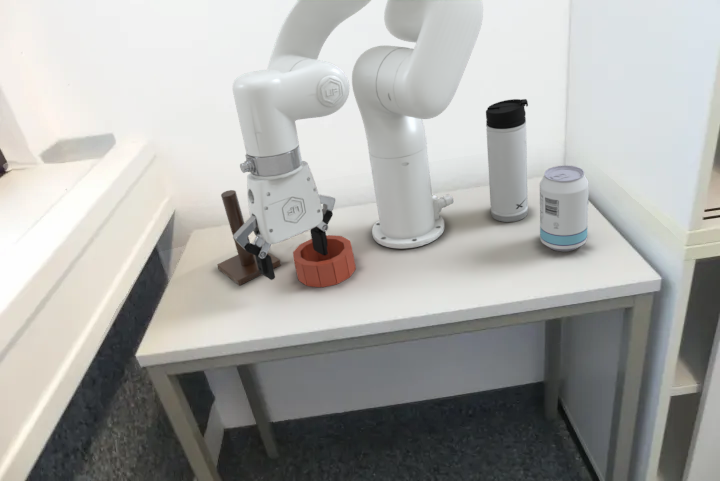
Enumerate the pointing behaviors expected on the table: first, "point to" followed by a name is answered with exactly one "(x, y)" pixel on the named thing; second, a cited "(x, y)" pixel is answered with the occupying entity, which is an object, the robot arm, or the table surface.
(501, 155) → the travel mug
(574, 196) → the beverage can
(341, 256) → the hoop
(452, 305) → the table surface
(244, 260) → the stand
